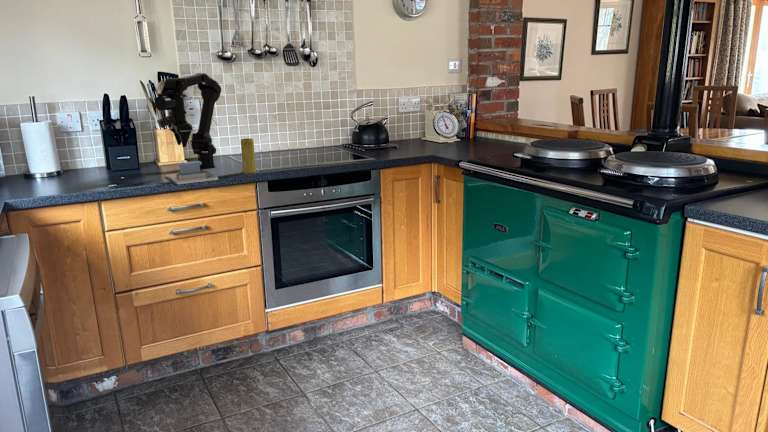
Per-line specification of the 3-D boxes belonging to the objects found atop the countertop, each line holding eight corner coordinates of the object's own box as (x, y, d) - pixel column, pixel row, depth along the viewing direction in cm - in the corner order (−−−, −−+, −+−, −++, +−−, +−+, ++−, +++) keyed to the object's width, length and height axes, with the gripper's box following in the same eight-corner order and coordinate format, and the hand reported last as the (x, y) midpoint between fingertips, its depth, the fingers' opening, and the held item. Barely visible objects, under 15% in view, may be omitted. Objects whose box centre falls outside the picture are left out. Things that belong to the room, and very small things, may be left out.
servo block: (200, 175, 237) (198, 159, 235) (203, 176, 233) (201, 160, 232) (178, 177, 232) (176, 161, 230) (180, 179, 229) (178, 163, 227)
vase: (242, 174, 243) (239, 140, 239) (242, 171, 249) (239, 138, 245) (257, 173, 244) (254, 139, 241) (256, 170, 250) (253, 138, 246)
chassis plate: (204, 172, 248) (204, 166, 248) (218, 179, 232) (217, 172, 231) (166, 176, 240) (165, 170, 239) (177, 184, 224) (176, 177, 223)
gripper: (152, 108, 242) (157, 145, 246) (162, 111, 227) (166, 150, 231) (179, 107, 248) (183, 143, 252) (190, 109, 233) (194, 147, 237)
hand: (181, 146), depth 243 cm, fingers open, 9 cm apart
